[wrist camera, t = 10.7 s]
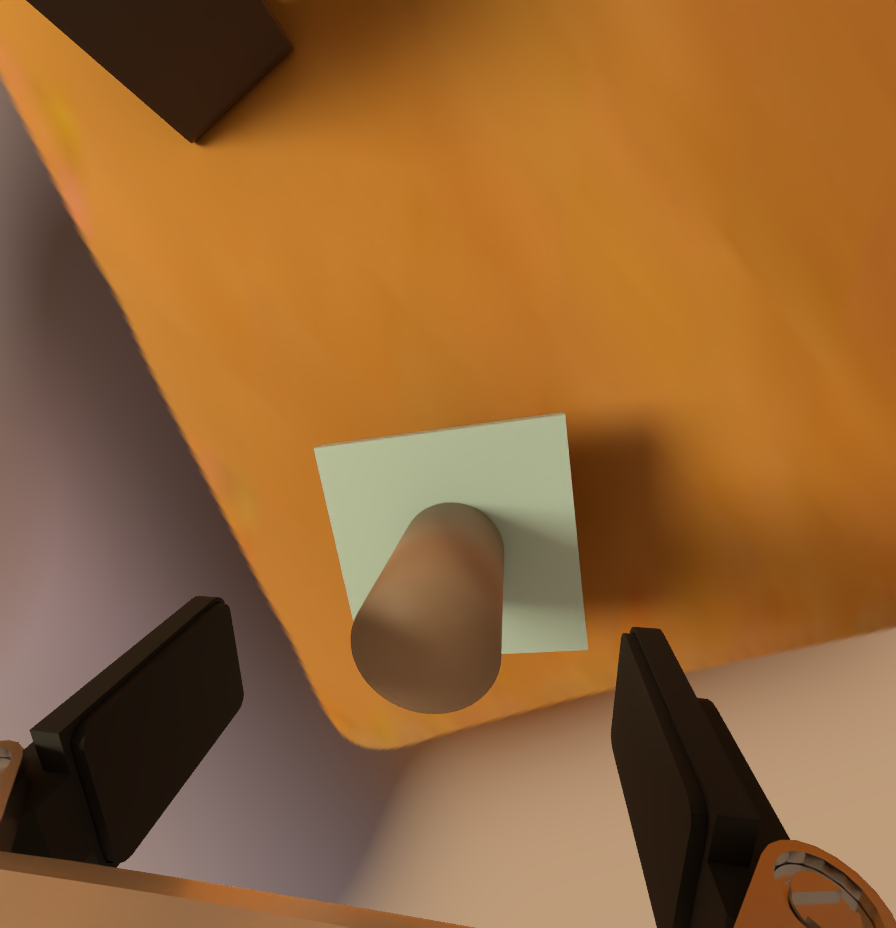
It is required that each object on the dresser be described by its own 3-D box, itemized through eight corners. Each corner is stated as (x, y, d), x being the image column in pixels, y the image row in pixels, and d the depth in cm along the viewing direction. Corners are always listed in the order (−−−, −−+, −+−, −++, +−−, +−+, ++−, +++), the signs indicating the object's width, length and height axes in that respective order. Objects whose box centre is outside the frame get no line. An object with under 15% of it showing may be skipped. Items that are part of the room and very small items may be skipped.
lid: (320, 445, 18) (213, 497, 11) (563, 412, 16) (597, 451, 10) (366, 651, 20) (298, 793, 13) (585, 640, 18) (625, 795, 12)
